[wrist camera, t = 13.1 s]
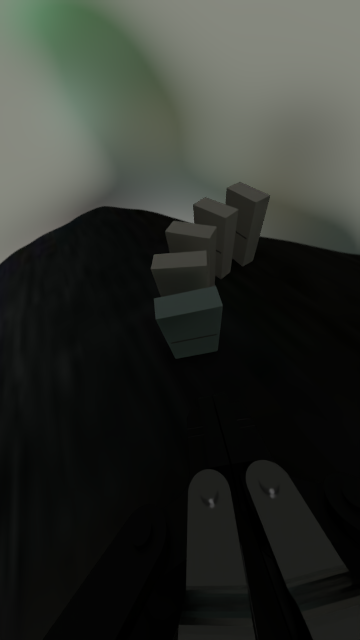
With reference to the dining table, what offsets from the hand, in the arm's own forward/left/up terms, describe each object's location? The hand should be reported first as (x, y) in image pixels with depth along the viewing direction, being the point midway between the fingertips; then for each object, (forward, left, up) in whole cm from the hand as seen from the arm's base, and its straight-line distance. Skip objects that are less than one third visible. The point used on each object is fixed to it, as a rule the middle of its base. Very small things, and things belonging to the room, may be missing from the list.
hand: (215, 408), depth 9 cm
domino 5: (+17, +17, -9) cm, 25 cm away
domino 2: (+4, +12, -9) cm, 15 cm away
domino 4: (+12, +17, -9) cm, 22 cm away
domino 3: (+2, +7, -9) cm, 12 cm away
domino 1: (+8, +15, -9) cm, 19 cm away
